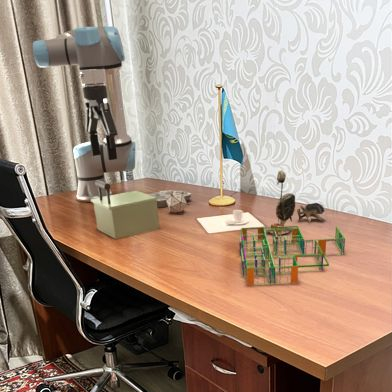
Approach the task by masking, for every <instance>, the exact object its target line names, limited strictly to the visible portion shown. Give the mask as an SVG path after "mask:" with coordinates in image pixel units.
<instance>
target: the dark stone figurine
mask: <svg viewBox="0 0 392 392" xmlns="http://www.w3.org/2000/svg"><path fill="white" fill-rule="evenodd" d="M286 177H287V175H286V172H284V171H283V170H279V171H278V172H277V176H276V180H277V182H276V184H277V185H278V186H279V184H281V186H280V187H281V188H280V189H281V191H280V197H279V199H278V201H277V203H276V207H275V216H276V218H278V220H277V223H271V224H270V227H285V224H286V222H287V221H288V220H290V222H293V219H292V216H294V213H295V210H296V209H295V208H296V194H297V193H295V194H293V193H290V192H287V193H286V194H285V193H284V195H283V187H284V183H285V181H286ZM279 221H280V222H279ZM273 229H281V228H267V229H265V230H266V231H265V233H268V232H267V230H273ZM282 229H286V228H282ZM269 233H270V234H273V232H269ZM289 233H290V231H283V230H282V233H281V235H283V234H289ZM278 236H280V230H278Z"/></svg>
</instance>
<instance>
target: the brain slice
mask: <svg viewBox="0 0 392 392" xmlns="http://www.w3.org/2000/svg"><path fill="white" fill-rule="evenodd" d="M172 191H173V193H182V192H184V193H183V196H184V198H185V200H186V202H187V203H188V201H189V200H190V199H191V196H192V193H191V192H189V191H186V190H160V191H158V192H149V193H148V194H147V195H150V196H153V197H156V200H157V209H158V208H165V207H166V208H169V207H168V205H167V203H166V202H164V200H165V201H166V200H167V199H168V198H169V197H170V195H171V194H172Z"/></svg>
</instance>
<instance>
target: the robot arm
mask: <svg viewBox="0 0 392 392" xmlns="http://www.w3.org/2000/svg"><path fill="white" fill-rule="evenodd" d="M32 53H33V58H34V61H35V64H36V66H37V67H38V68H47V69H48V68H55V67H67V66H78V70H79V75H78V77H79V78H80V81H81V85H82V89H81V91H82V95H83V100H84V101H87V102H84V106H85V107H84V108H85V130H84V131H85V133H87V134H88V136H89V141H88V142H87V141H86V142H83V143H80V144H78V145H77V144H76V145H74V147H73V159H74V164H75V170H76V175H77V182H78V183H77V190H76V199H77V201H78V202H83V203H92V202H91V199H95V198H100V197H99V190H98V187H97V186H96V185H95V182H96V181H97V180H100V181H102V182H105V183H108V182H107V180H106V177H105V174H107V173H117V172H118V173H119V172H124V173H125V172H130V171H133V170H135V168H136V141H133V140H132V137H131V135H129V134H128V130H127V123H126V114H125V107H124V101H123V100H124V99H123V93H122V84H121V78H120V77H121V76H120V70H121V68H122V67H123V63H122V62H125V60H126V57H125V51H124V46H123V41H122V38H121V34H120V32H119V30H118V28H117V27H115V26H81V27H76V28H74V29H71V30H68V31H66V32H63V33H60V34H58V35H57V36H56V37H55V38H50V39H40V40H35V41H33V43H32ZM98 122H100V126H101V127H102V129H103V132H104V134H105V136H104V139H103V143H101V142H100V141H99V135H98V134H99V132H98V131H97V129H98ZM101 193H102V197H105V196H107V193H106V190H105V189H102V188H101ZM109 195H112V191H111V189H110V190H109Z"/></svg>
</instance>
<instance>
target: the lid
mask: <svg viewBox="0 0 392 392" xmlns="http://www.w3.org/2000/svg"><path fill="white" fill-rule="evenodd" d="M95 185H96V186H97V187H98V190H99V197H100V198H95V199H91V202H90V203H92V204H93V203H95V204H97V205H99V206H101V207H104V208H106V209H108V210H112V209H117V208H122V207H126V206H131V205H136V204H141V203H146V202H150V201H155V200H156V197H153V196H150V195H148V194H147V193H145V192H141V191H139V190H131V191H126V192H120V193H116V194H111V195H109V190H110V191H111V187H112V186H111V184H110V183H108V182H107V183H105V182H102V181H100V180H97V181H96V182H95ZM101 188H102V189H105V190H106V193H107V196H105V197H102V193H101Z"/></svg>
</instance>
